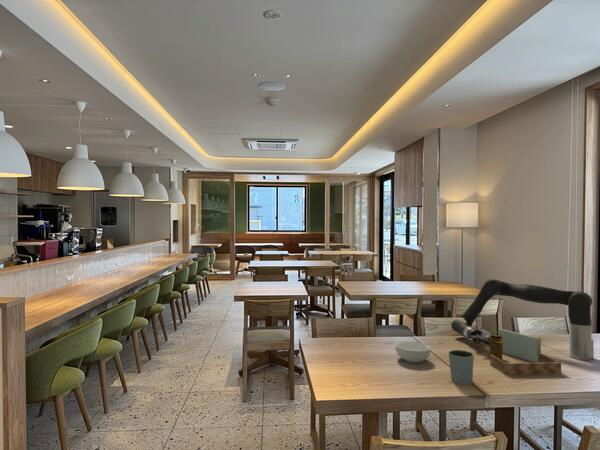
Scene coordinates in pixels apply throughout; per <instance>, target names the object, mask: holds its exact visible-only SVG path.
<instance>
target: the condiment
mask: <svg viewBox="0 0 600 450" xmlns="http://www.w3.org/2000/svg"><path fill="white" fill-rule="evenodd" d="M489 336H490V340H489V345H488V348H489V350H488V351H489V355H488V356H485V357H483V359H485V360H487V361H488V360H489V361H490V355H494V356H495V357H497V358H499V359H500V360H502V361H505V360H506V358H504V357H503V352H502V338H501V335H498V333H491V334H490V335H489Z"/></svg>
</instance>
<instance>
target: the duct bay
mask: <svg viewBox="0 0 600 450" xmlns="http://www.w3.org/2000/svg"><path fill="white" fill-rule="evenodd" d="M540 358H541V362H540V363H535V362H505V360H500V359H499V358H497V357H495V356H494V355H490V360H489V362H490V364H489V365H490V367H493V368H494V369H495V370H497V371H499V372H500V373H502V374H503V375H505V376H513V375H515V376H519V375H520V376H522V375H523V376H524V375H561V374H562V362H560V361H558V360H556V359H554V358H551V357H550V356H547V355H546V354H543V353H541V354H540Z"/></svg>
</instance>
